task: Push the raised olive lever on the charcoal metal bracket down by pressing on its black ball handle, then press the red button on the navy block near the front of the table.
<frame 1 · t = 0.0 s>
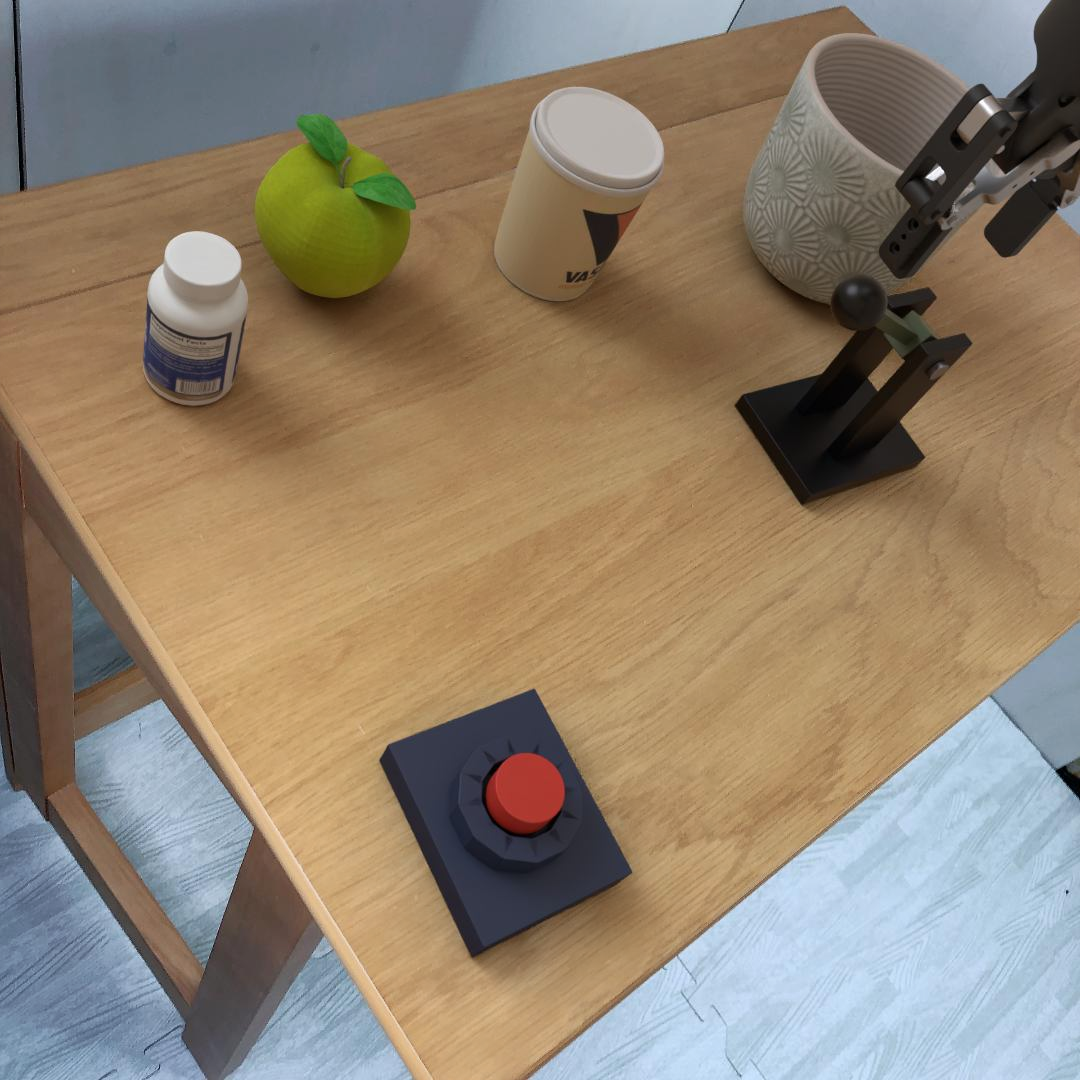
hand: (946, 255, 61), 23 cm above the table, tool pointing down, fingers open, 8 cm apart
button: (525, 793, 57), point 4 cm above the table, slide at 0.1 cm
lever: (887, 321, 71), point 14 cm above the table, hinge at 30.0°
bracket: (826, 436, 85), on the table
button block: (498, 822, 61), on the table
planter: (804, 261, 96), on the table
pill bottle: (188, 375, 69), on the table
fruit: (318, 276, 77), on the table
coffee cup: (542, 264, 85), on the table
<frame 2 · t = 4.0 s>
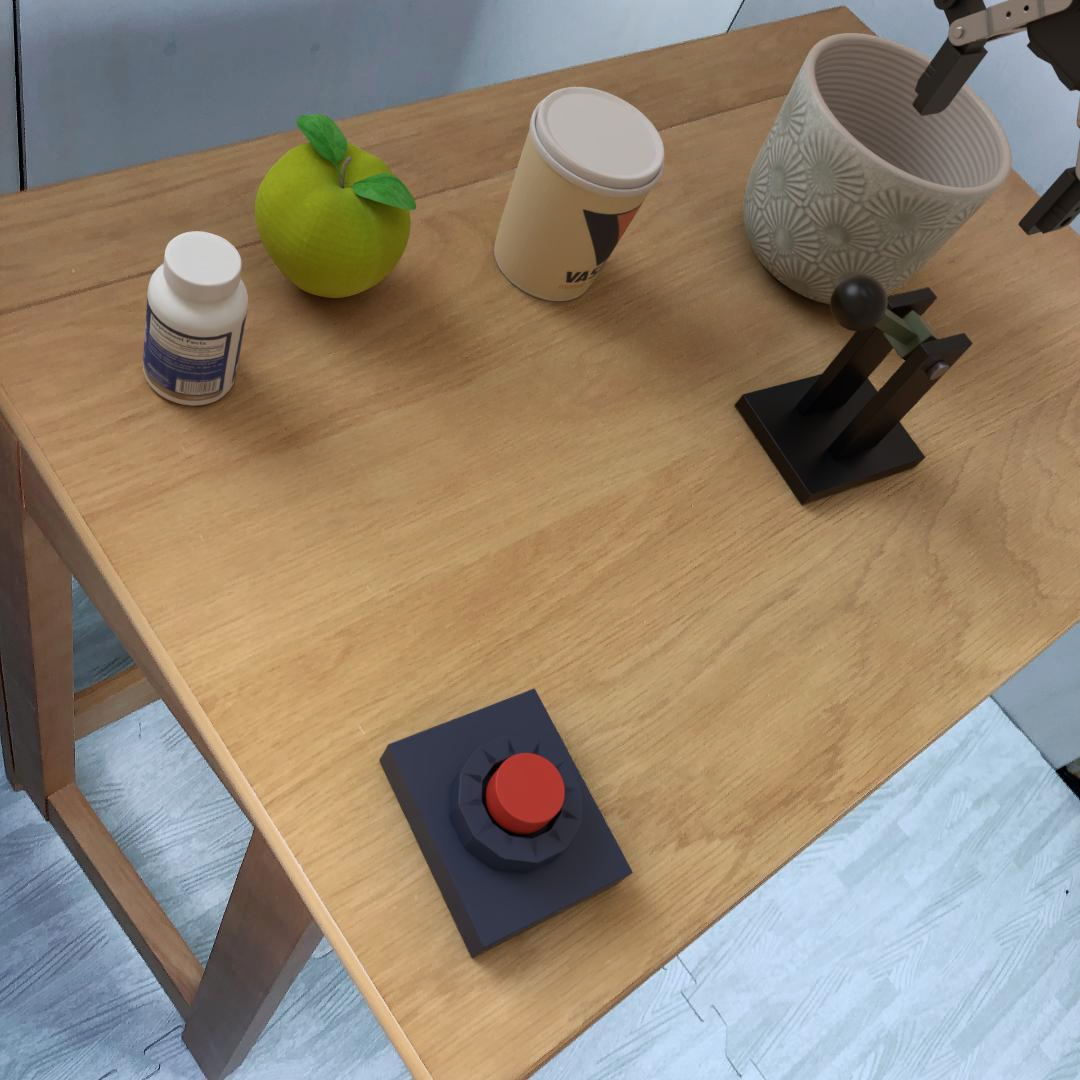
hand: (978, 168, 58), 27 cm above the table, tool pointing down, fingers open, 8 cm apart
nothing on the table moved.
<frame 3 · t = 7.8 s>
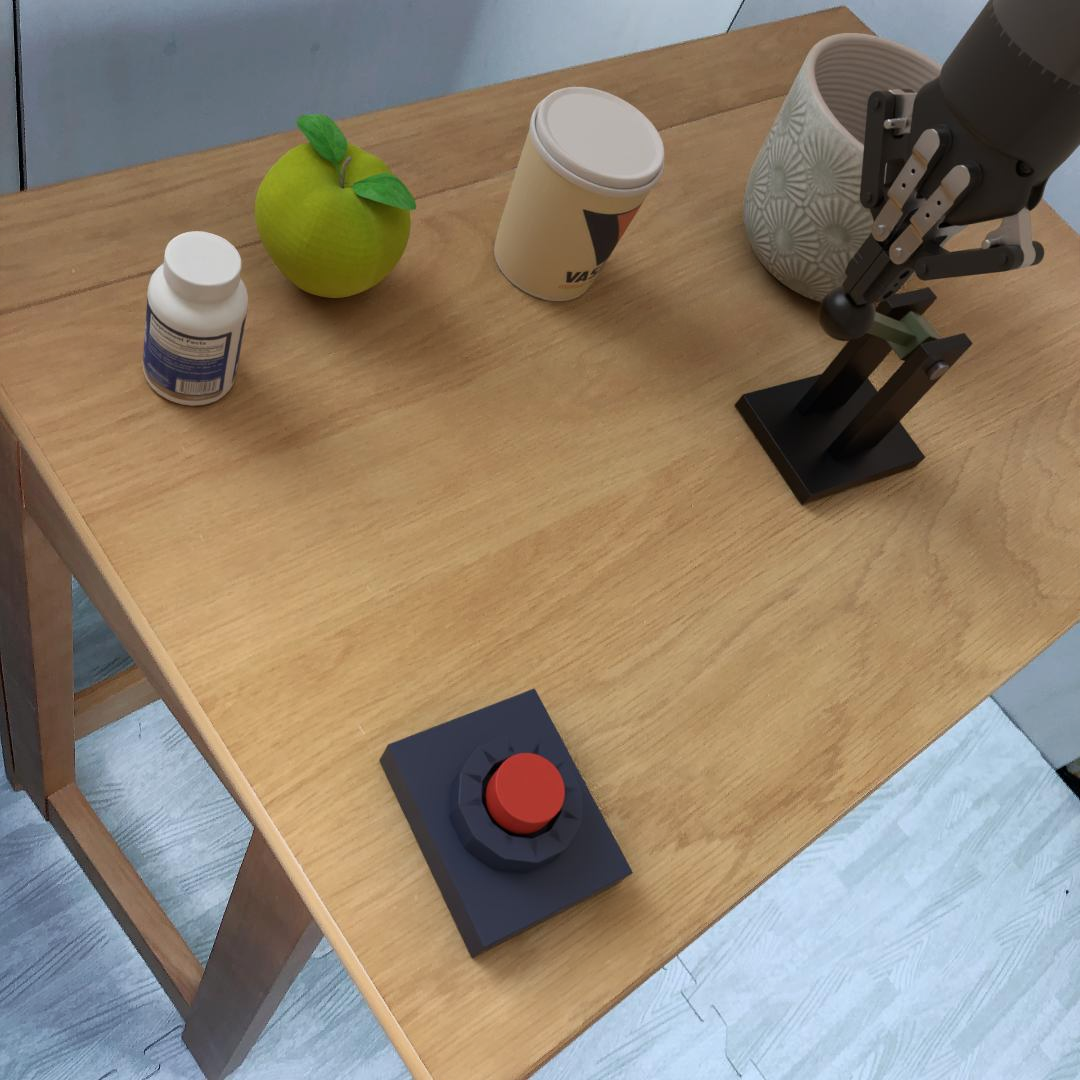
hand: (860, 294, 66), 17 cm above the table, tool pointing down, fingers closed
lever: (881, 326, 72), point 13 cm above the table, hinge at 25.4°
everything else where it was.
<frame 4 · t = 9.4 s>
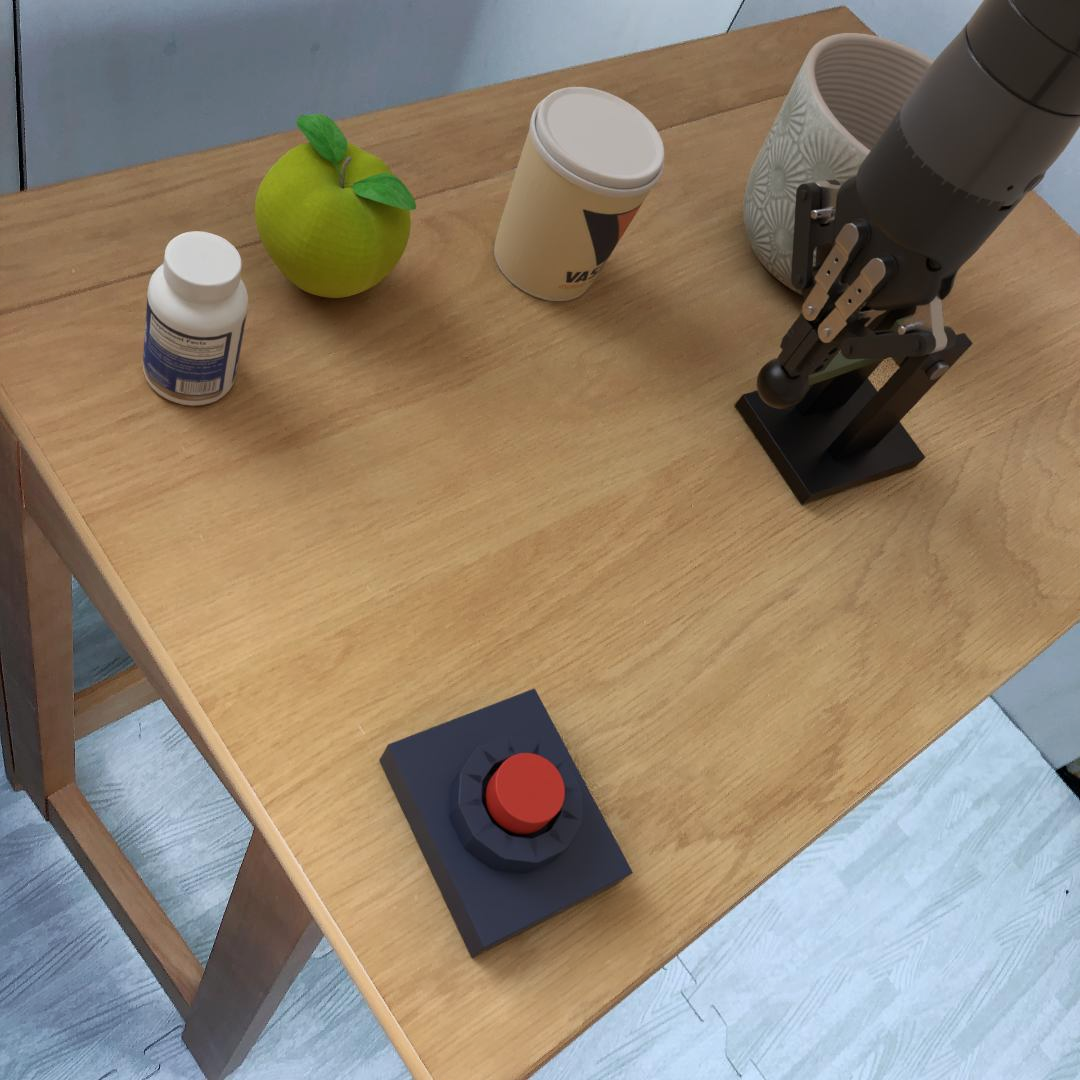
hand: (794, 365, 71), 11 cm above the table, tool pointing down, fingers closed
lever: (848, 360, 74), point 10 cm above the table, hinge at -7.9°, touching gripper
everything else where it was.
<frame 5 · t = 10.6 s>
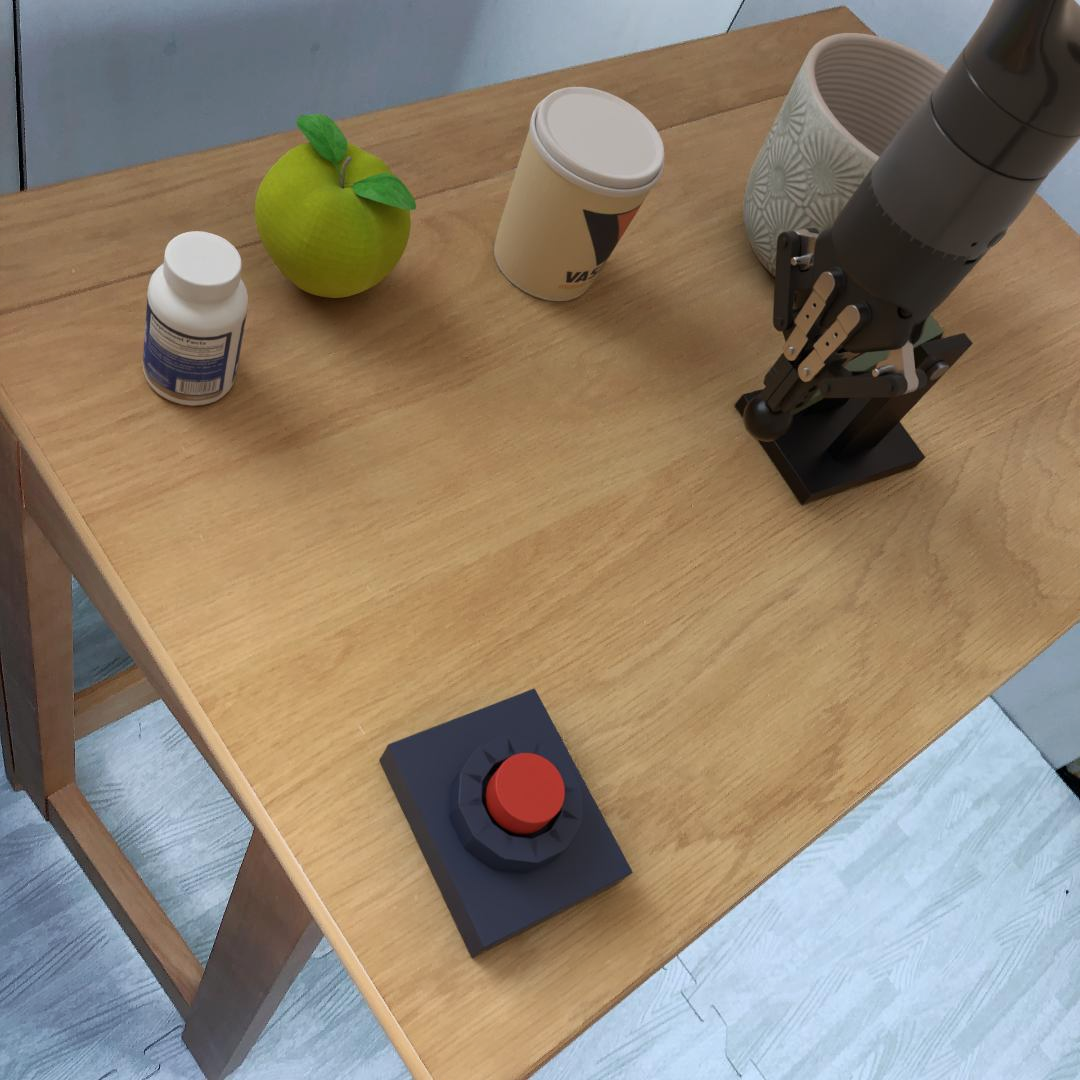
hand: (777, 401, 74), 7 cm above the table, tool pointing down, fingers closed
lever: (839, 378, 76), point 8 cm above the table, hinge at -29.6°, touching gripper
everything else where it was.
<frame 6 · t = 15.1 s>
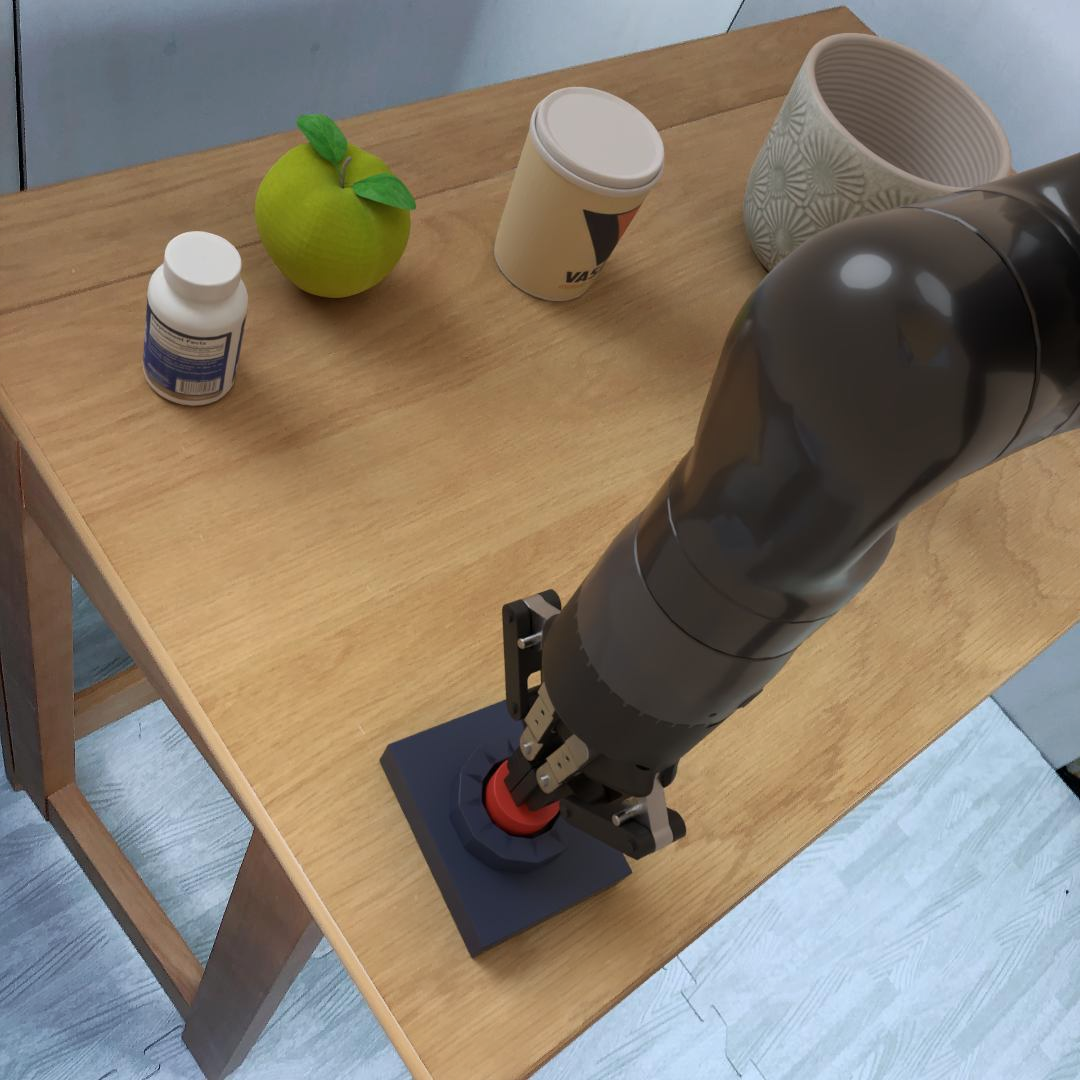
hand: (526, 788, 57), 5 cm above the table, tool pointing down, fingers closed
button: (523, 795, 57), point 4 cm above the table, slide at -0.2 cm, touching gripper
lever: (839, 378, 76), point 8 cm above the table, hinge at -29.8°
everything else where it was.
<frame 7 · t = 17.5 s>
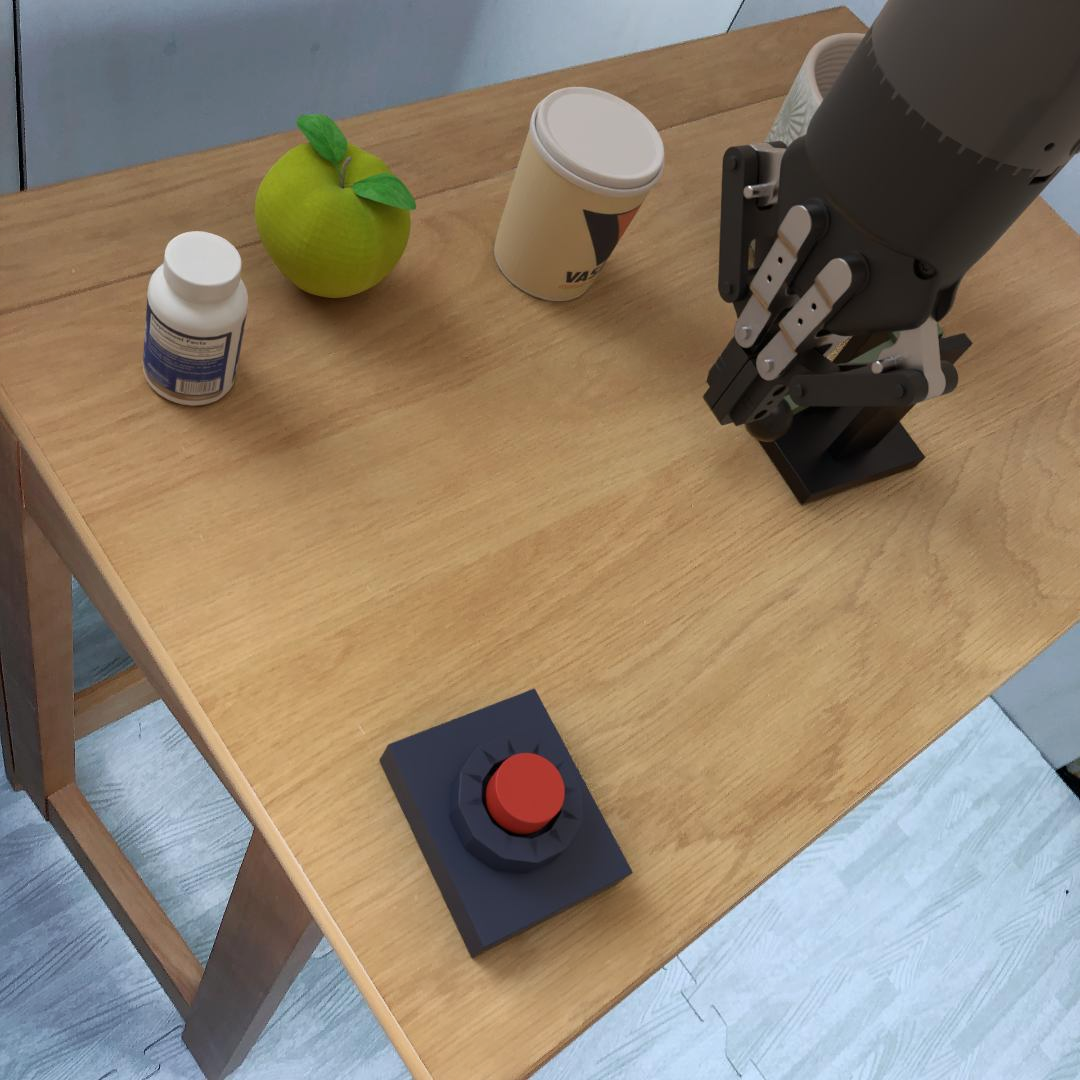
hand: (727, 409, 50), 23 cm above the table, tool pointing down, fingers closed
button: (525, 793, 57), point 4 cm above the table, slide at 0.1 cm
everything else where it was.
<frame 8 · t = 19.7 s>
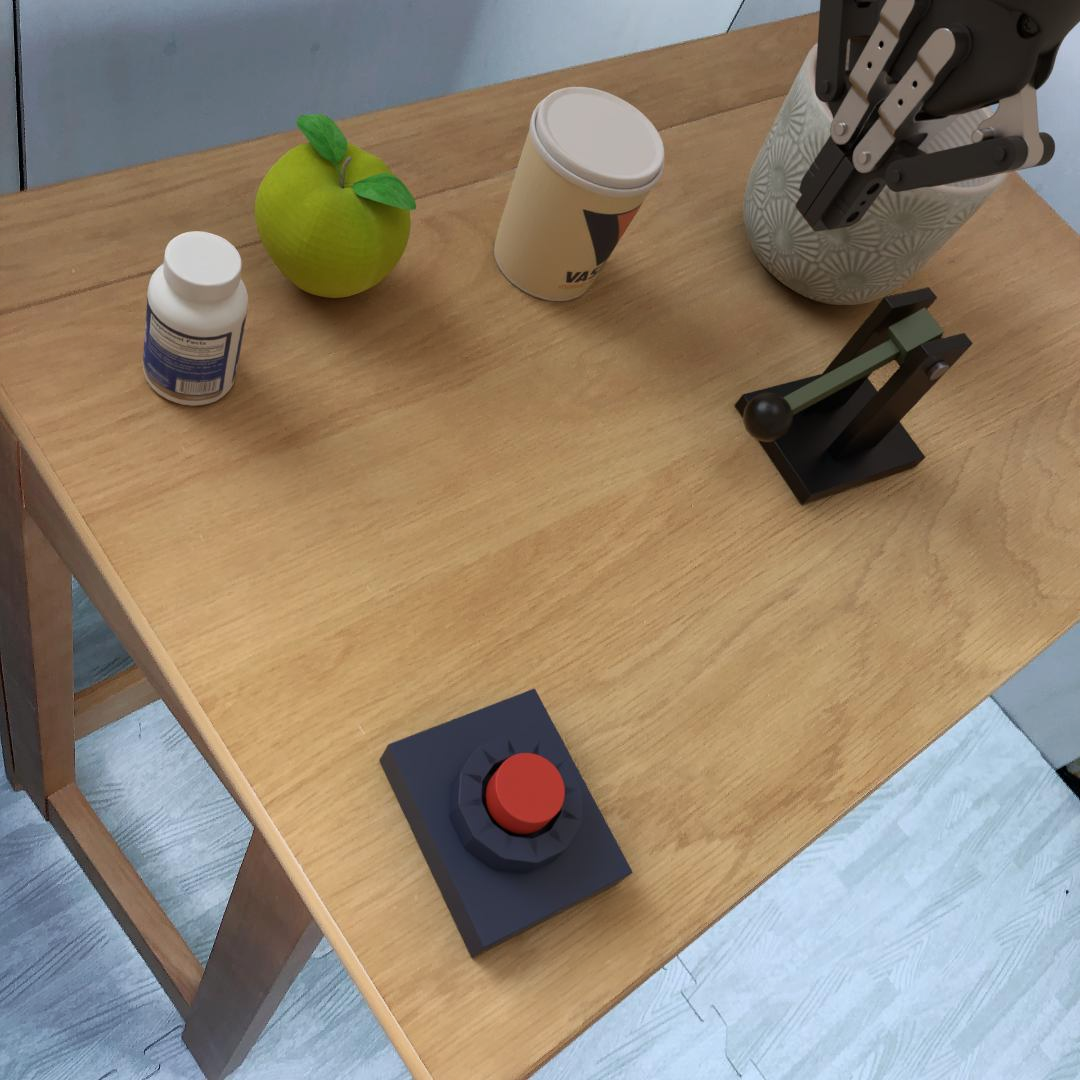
hand: (818, 218, 52), 27 cm above the table, tool pointing down, fingers closed
nothing on the table moved.
at the end: lever at -30° (first picture: +30°); button pushed in 1.2 cm at the most during the clip, back to where it started at the end; button slide at 0.1 cm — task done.
